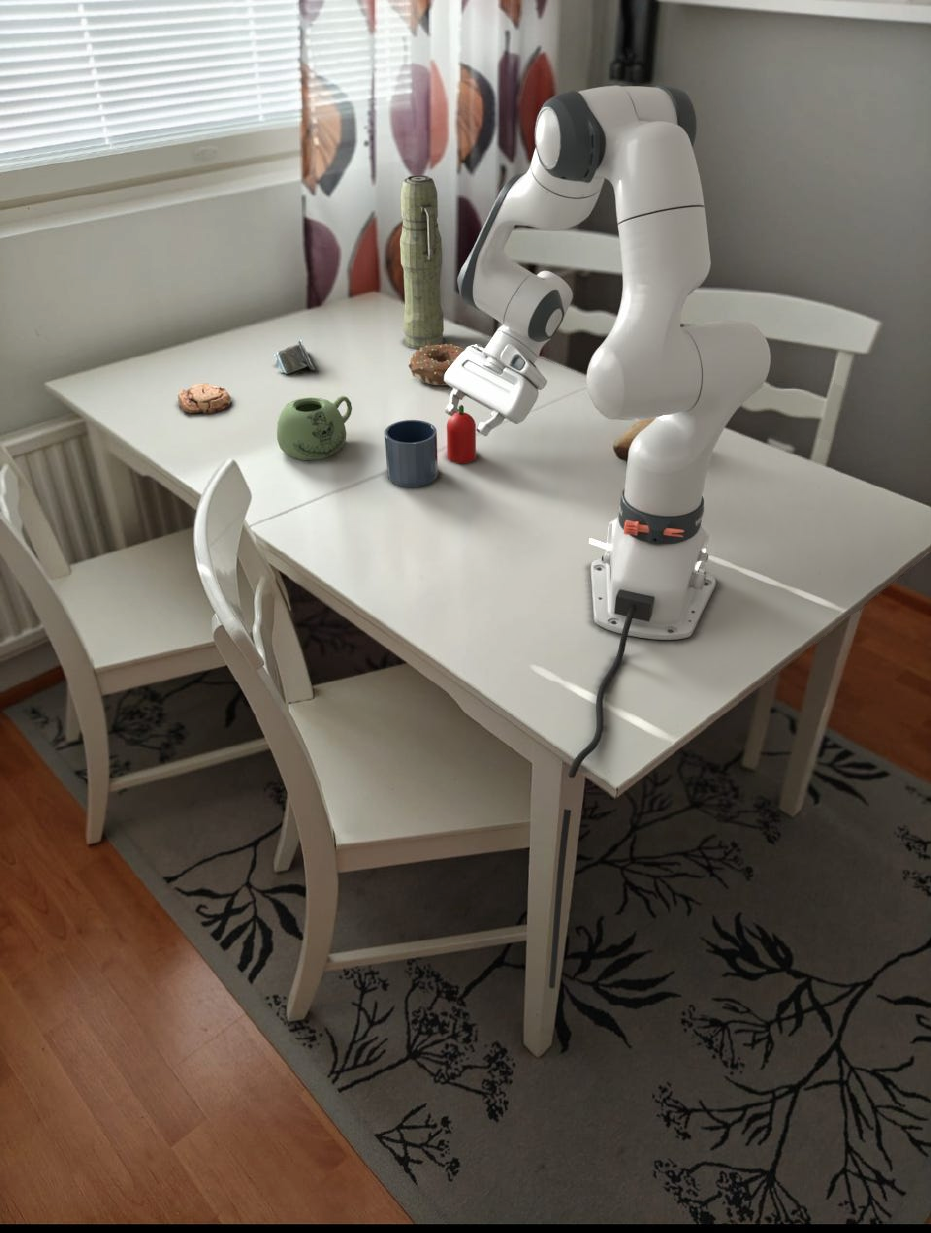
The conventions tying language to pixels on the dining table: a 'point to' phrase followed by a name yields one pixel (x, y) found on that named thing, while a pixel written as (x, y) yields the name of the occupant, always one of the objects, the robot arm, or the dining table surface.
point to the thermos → (421, 263)
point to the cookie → (204, 399)
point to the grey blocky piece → (293, 358)
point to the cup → (411, 453)
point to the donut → (434, 362)
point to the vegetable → (629, 438)
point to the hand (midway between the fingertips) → (464, 424)
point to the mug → (312, 428)
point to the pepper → (461, 437)
